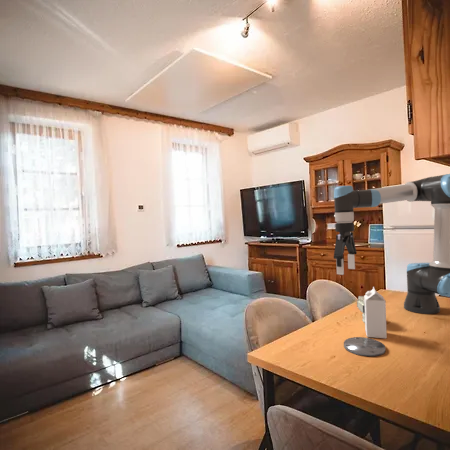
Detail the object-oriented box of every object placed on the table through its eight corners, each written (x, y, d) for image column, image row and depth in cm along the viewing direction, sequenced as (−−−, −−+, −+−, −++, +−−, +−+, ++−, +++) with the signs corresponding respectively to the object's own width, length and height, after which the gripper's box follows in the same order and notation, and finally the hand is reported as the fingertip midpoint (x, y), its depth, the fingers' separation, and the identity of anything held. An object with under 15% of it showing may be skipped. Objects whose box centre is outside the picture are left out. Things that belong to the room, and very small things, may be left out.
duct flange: (373, 339, 123) (373, 336, 123) (393, 355, 109) (393, 351, 109) (338, 341, 123) (338, 338, 123) (353, 357, 109) (353, 354, 109)
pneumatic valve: (368, 317, 147) (367, 292, 146) (377, 327, 135) (377, 299, 135) (355, 318, 147) (355, 292, 147) (364, 327, 136) (363, 299, 135)
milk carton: (384, 332, 129) (382, 286, 129) (386, 339, 123) (385, 291, 122) (365, 330, 132) (363, 286, 131) (367, 337, 125) (365, 290, 124)
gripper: (345, 220, 146) (347, 266, 147) (323, 224, 127) (325, 276, 128) (362, 220, 141) (364, 267, 142) (342, 223, 122) (344, 277, 123)
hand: (346, 271), depth 135 cm, fingers open, 13 cm apart
